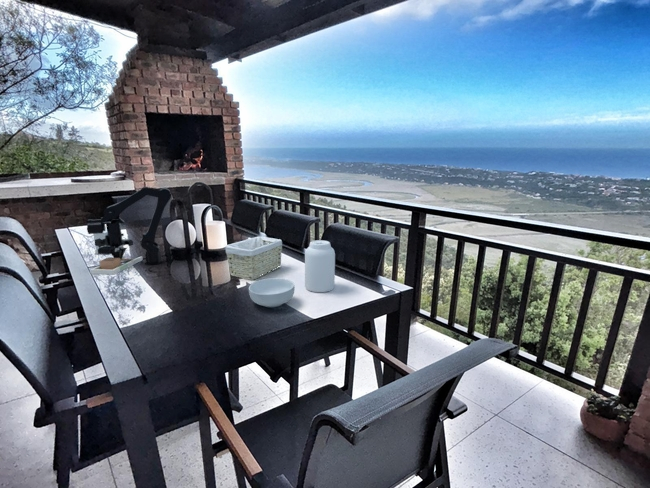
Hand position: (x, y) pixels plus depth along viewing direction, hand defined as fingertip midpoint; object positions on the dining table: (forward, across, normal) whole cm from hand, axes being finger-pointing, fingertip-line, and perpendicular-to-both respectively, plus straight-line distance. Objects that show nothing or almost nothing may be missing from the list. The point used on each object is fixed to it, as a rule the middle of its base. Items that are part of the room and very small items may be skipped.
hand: (118, 263), depth 165 cm
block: (+2, +5, 0) cm, 5 cm away
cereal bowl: (+2, +38, +84) cm, 93 cm away
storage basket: (+2, +3, +69) cm, 69 cm away
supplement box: (+2, -23, -22) cm, 32 cm away
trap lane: (+2, 0, 0) cm, 2 cm away
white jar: (+2, +21, +101) cm, 103 cm away
